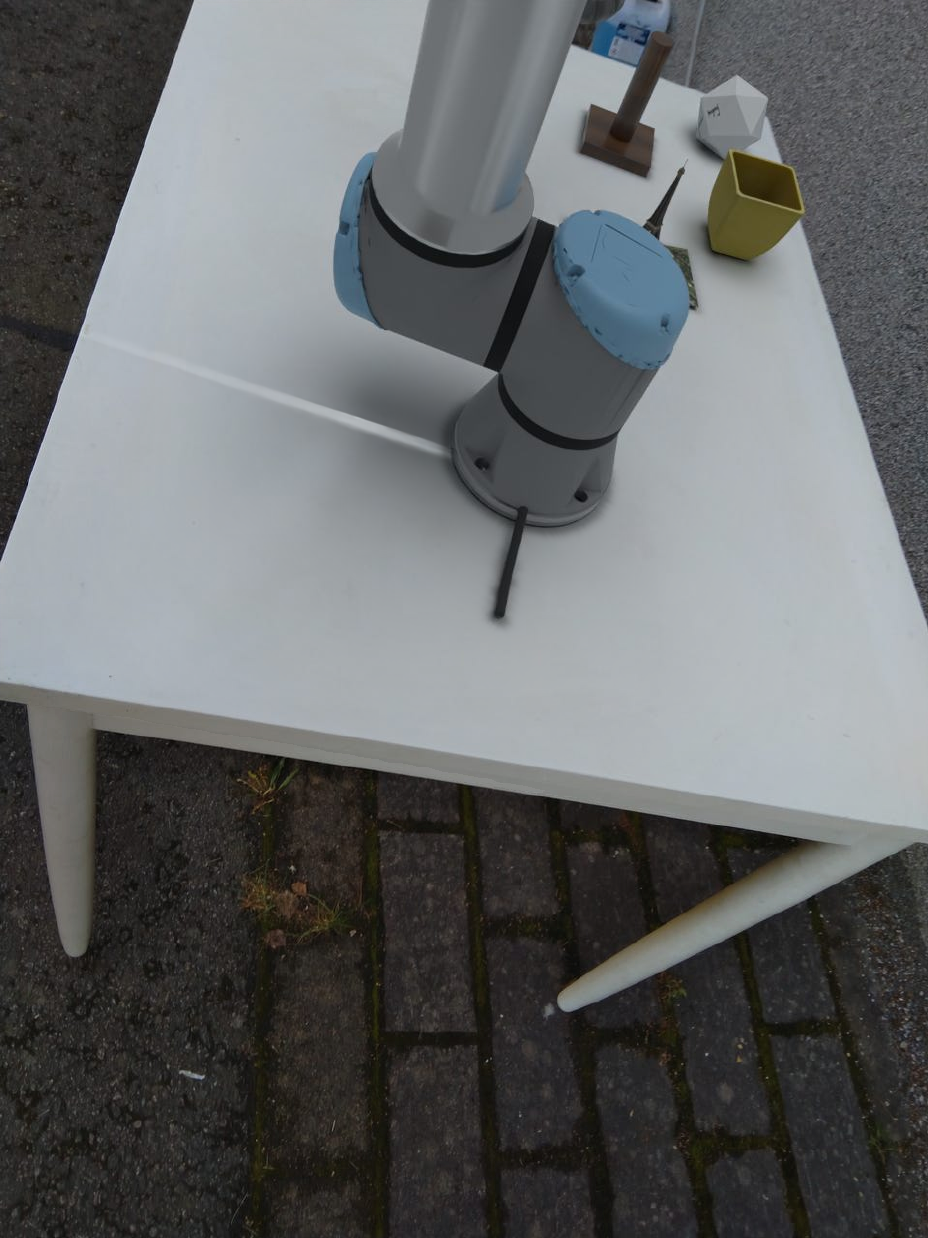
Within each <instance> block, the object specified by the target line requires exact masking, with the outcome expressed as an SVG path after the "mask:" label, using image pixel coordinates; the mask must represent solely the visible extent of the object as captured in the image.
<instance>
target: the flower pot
mask: <svg viewBox="0 0 928 1238" xmlns="http://www.w3.org/2000/svg"><path fill="white" fill-rule="evenodd" d="M795 171H796V170H795V168H794V167H792V166H790V165H787V164H784V163H781V162H778V161H774V160H771V159H767V158H763V157H760V156H757V155H755V154H751V153H749V152H744V151H743V150H742V151H738V150H734V149H729V151H728V154H727V156H726V158H725V160H724V159H723V162H722V165H721V168H720V170H719V172H718V174H717V176H716V179H715V181H714V184H713V187H712V188H711V192H710V196H709V201H708V208H707V229H708V235H709V242H710V248H711V250H712V251H713V252H716V253H720V254H723V255H726V256H730V257H733V258H736V259H741V260H745V261H749V260H752V259H756V258H758V257H760V256H762V255H764V254H766V253H768V252H769V251H770V250H771V249H773V248H774V247H775V246H777V244H779V243H780V242H781V241H782V239H783V238H785V236H786V235H787V234H788V233H789V232H790V231H791V230H792V229H793V227H794V226H795V225H796V224H797V223H798V222H799V221H800V220H801V218H803V216H804V215H805V206H804V202H803V198H802V194H801V190H800V186H799V182H798V178H797V173H796V172H795Z"/></svg>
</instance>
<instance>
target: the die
mask: <svg viewBox="0 0 928 1238" xmlns="http://www.w3.org/2000/svg"><path fill="white" fill-rule="evenodd" d="M768 102H769V97H768V96H766V95H765V94H763V93H762V92H761V91H760V90H758V89H757V88H755V86H753V85H751V83H749V82H747V81H746V80H745V79H743V78H742V77H741V76H740V75H738V74H736V75H734V76H732V77H731V78H729V79H728V80H726V81H725V82H723V83H721V84H720V85H719V86H718V85H717V86H716V88H715V87H714V88H713V89H712V90H710V91H709V92H707V93H705V94H704V95H703V96H700V101H699V107H698V108H699V109H698V117H697V125H696V133H695V139H696V140H697V141H699V142H700V143H701V144H703V145H704V146H706V147H707V148H708V149H709V150H711V151H712V152H713V153H714V154H716V155H717V156H718V157H720V158H721V159H722V160H723V161H724V160H725V158H726V156H727V154H728V151H729V149H734V150H738V151H742V152H743V151H744V150H746V149H747V148H749V147H750V146H752V145H754V144H755V143H756V142H758V141H761V139H762V136H763V135H762V134H763V128H764V123H765V118H766V113H767V106H768Z"/></svg>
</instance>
